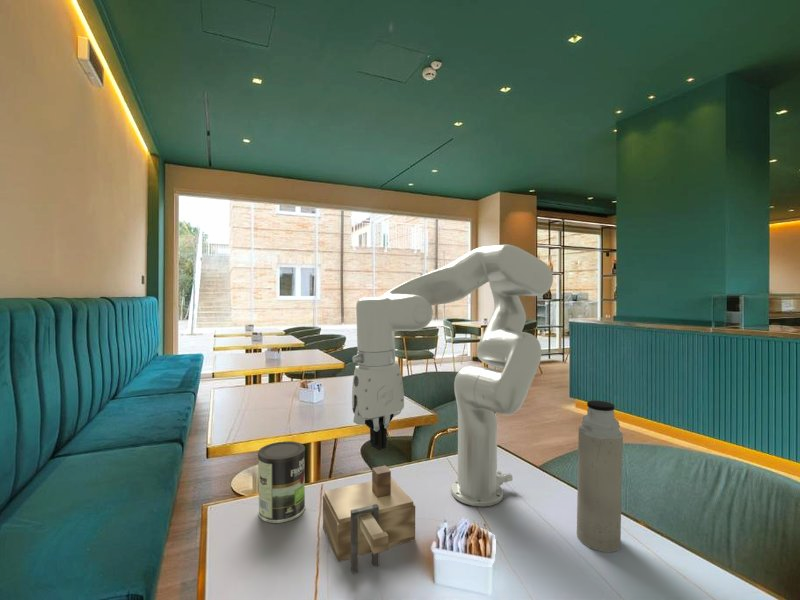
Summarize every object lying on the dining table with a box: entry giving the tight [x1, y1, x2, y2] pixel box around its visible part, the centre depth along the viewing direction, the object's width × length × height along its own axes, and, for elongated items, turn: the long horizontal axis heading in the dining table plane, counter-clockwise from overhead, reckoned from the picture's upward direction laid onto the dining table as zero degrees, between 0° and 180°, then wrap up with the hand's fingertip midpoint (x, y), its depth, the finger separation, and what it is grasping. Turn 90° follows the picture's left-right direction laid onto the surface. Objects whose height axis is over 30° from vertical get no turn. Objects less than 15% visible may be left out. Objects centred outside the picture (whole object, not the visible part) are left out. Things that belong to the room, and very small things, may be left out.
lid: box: [323, 465, 414, 524], centre depth 83 cm, size 15×11×7 cm
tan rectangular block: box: [358, 513, 389, 554], centre depth 70 cm, size 3×9×2 cm, turn 24°
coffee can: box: [257, 440, 306, 524], centre depth 92 cm, size 10×10×14 cm
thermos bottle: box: [576, 400, 624, 553], centre depth 81 cm, size 8×8×28 cm
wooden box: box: [322, 493, 416, 574], centre depth 81 cm, size 16×16×11 cm
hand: (378, 447), depth 82 cm, fingers closed
